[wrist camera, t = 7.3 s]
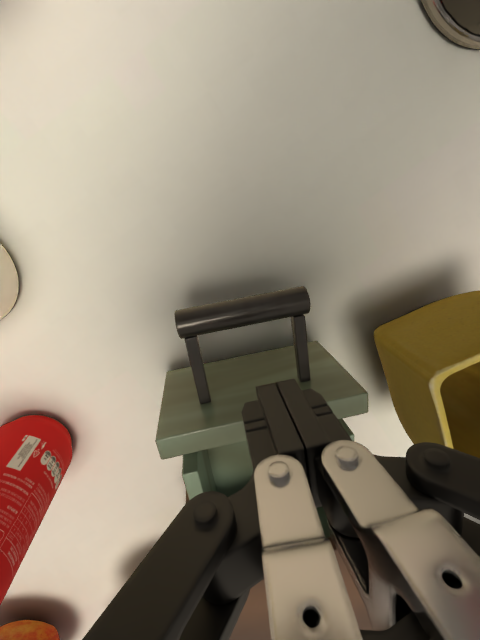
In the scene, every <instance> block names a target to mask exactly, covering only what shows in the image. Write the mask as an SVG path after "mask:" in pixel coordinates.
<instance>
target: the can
mask: <svg viewBox="0 0 480 640" xmlns="http://www.w3.org/2000/svg"><path fill="white" fill-rule="evenodd" d="M18 288H19V282H18V275H17V271H16V268H15V265H14V263H13V261H12V259H11V257H10V256H9V254H8V253H7V251H6V250H5V249H4V247H3V246H2V245H1V244H0V320H1V319H2V318H3V317H5V316H6V315H7V314H8V313H9V312H10V310H11V309H12V307H13V306H14V304H15V302H16V299H17V295H18Z"/></svg>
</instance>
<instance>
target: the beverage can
mask: <svg viewBox="0 0 480 640" xmlns="http://www.w3.org/2000/svg"><path fill="white" fill-rule="evenodd" d="M71 446H72V438H71V435H70V433H69V431H68V429H67V428H66V427H65V426H64V425H63V424H62V423H61V422H59V421H58V420H56V419H54V418H52V417H49V416H45V415H36V414H35V415H26V416H22V417H20V418H18V419H16V420H14V421H12V422H9V423H7V424H4V425H3V426H1V427H0V605H1V603H2V601H3V599H4V597H5V595H6V593H7V591H8V589H9V587H10V585H11V583H12V581H13V579H14V577H15V575H16V572H17V570H18V568H19V566H20V564H21V562H22V560H23V558H24V556H25V554H26V552H27V550H28V548H29V546H30V544H31V542H32V540H33V538H34V536H35V534H36V532H37V530H38V528H39V526H40V524H41V522H42V520H43V518H44V516H45V514H46V512H47V509H48V507H49V505H50V503H51V501H52V499H53V497H54V495H55V493H56V491H57V489H58V487H59V485H60V483H61V481H62V479H63V477H64V475H65V473H66V471H67V469H68V467H69V465H70V462H71V459H72V447H71Z"/></svg>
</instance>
